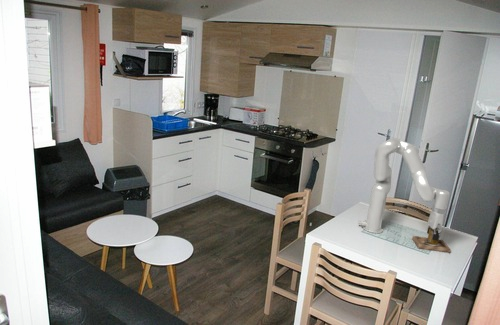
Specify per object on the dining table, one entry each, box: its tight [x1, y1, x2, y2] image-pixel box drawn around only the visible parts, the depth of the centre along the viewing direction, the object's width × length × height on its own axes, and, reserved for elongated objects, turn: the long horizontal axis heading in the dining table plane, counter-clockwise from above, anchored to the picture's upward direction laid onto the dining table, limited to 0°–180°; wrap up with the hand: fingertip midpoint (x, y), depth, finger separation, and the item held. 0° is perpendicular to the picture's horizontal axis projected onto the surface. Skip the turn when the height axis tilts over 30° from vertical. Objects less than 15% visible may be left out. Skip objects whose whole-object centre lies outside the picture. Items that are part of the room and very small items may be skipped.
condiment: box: [424, 227, 440, 246], centre depth 237 cm, size 7×8×12 cm
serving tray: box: [411, 235, 451, 254], centre depth 238 cm, size 18×13×2 cm
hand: (432, 236), depth 237 cm, fingers open, 8 cm apart
